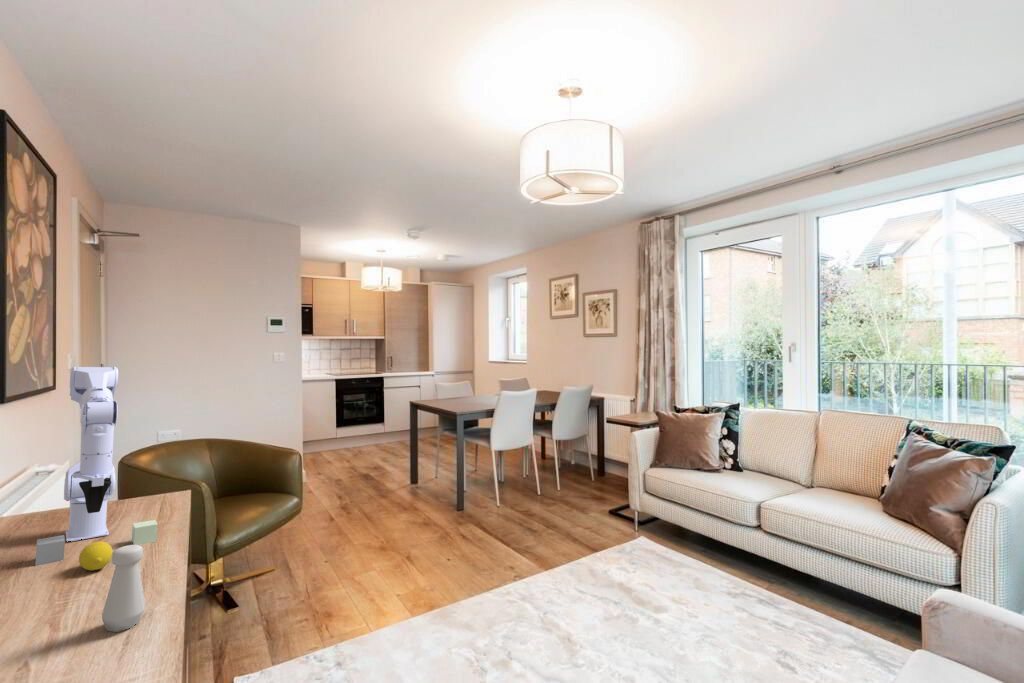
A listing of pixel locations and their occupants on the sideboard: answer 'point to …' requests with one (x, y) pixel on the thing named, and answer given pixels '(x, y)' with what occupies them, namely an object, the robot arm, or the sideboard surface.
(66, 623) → the sideboard surface
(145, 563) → the sideboard surface
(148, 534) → the sage block
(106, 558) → the lemon
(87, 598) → the sideboard surface
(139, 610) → the salt shaker
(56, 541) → the slate block
